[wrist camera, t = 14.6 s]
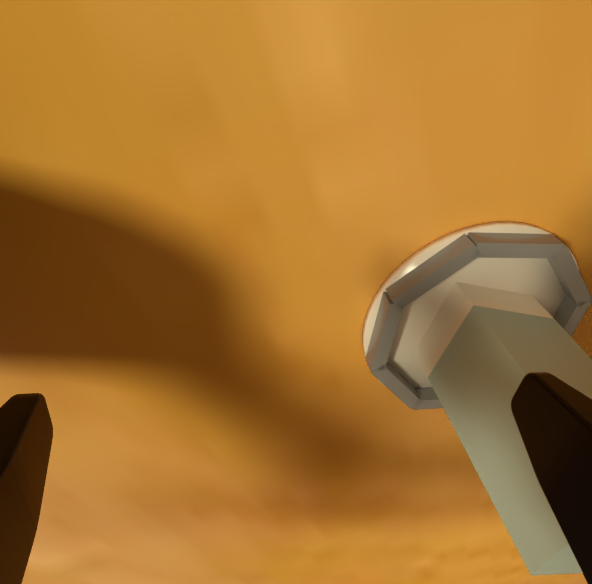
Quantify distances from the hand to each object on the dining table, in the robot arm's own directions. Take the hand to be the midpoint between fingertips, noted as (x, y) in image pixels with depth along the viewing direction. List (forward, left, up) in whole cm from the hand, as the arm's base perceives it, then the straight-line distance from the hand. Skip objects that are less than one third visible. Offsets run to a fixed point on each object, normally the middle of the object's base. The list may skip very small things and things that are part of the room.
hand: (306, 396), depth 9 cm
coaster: (+13, -9, -13) cm, 20 cm away
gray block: (+13, -9, -12) cm, 20 cm away
